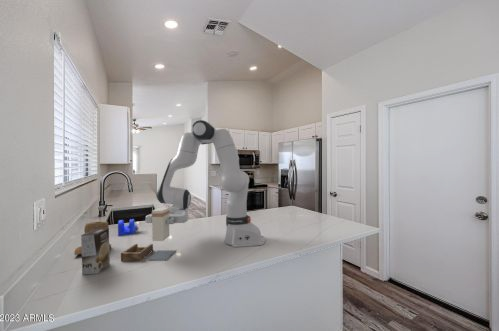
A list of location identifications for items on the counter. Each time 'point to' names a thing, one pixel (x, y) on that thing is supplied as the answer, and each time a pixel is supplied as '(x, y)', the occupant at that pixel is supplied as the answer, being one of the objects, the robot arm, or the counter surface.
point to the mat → (162, 255)
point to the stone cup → (90, 227)
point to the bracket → (126, 227)
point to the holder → (132, 256)
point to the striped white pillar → (160, 224)
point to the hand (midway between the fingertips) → (160, 222)
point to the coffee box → (95, 251)
